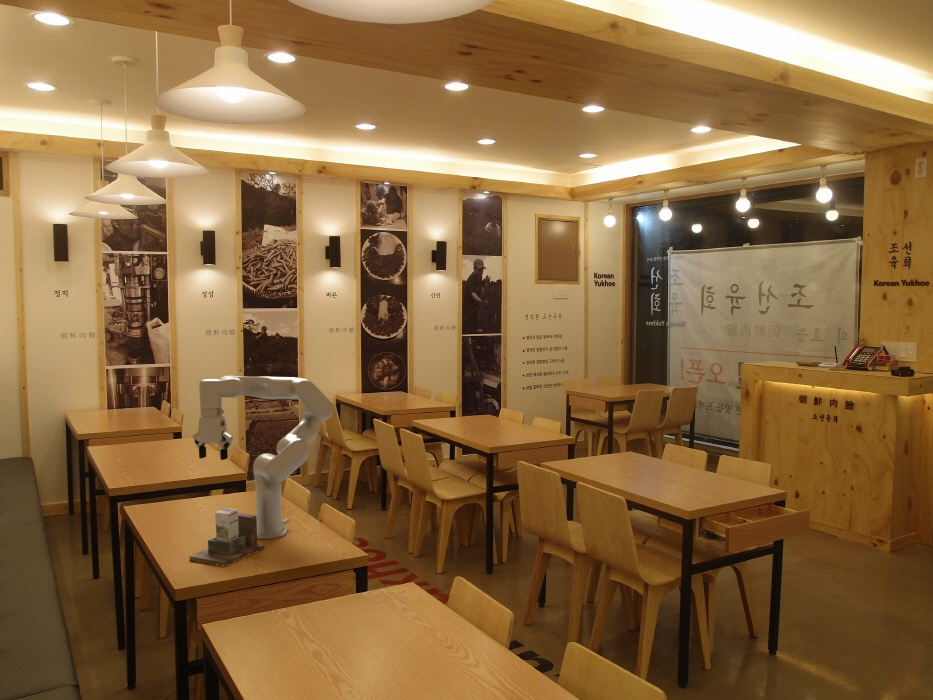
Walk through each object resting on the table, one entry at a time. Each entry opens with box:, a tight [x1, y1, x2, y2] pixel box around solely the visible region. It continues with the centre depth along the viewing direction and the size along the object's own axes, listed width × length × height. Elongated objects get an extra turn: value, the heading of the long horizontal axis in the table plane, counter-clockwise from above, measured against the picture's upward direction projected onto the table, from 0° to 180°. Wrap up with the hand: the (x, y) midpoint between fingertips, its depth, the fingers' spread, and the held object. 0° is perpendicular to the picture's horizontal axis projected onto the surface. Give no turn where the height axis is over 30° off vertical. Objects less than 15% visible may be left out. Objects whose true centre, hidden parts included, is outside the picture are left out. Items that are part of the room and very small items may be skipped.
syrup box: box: [214, 508, 239, 542], centre depth 262 cm, size 6×6×14 cm
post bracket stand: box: [188, 512, 265, 567], centre depth 262 cm, size 20×16×12 cm
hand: (213, 458), depth 270 cm, fingers open, 9 cm apart
